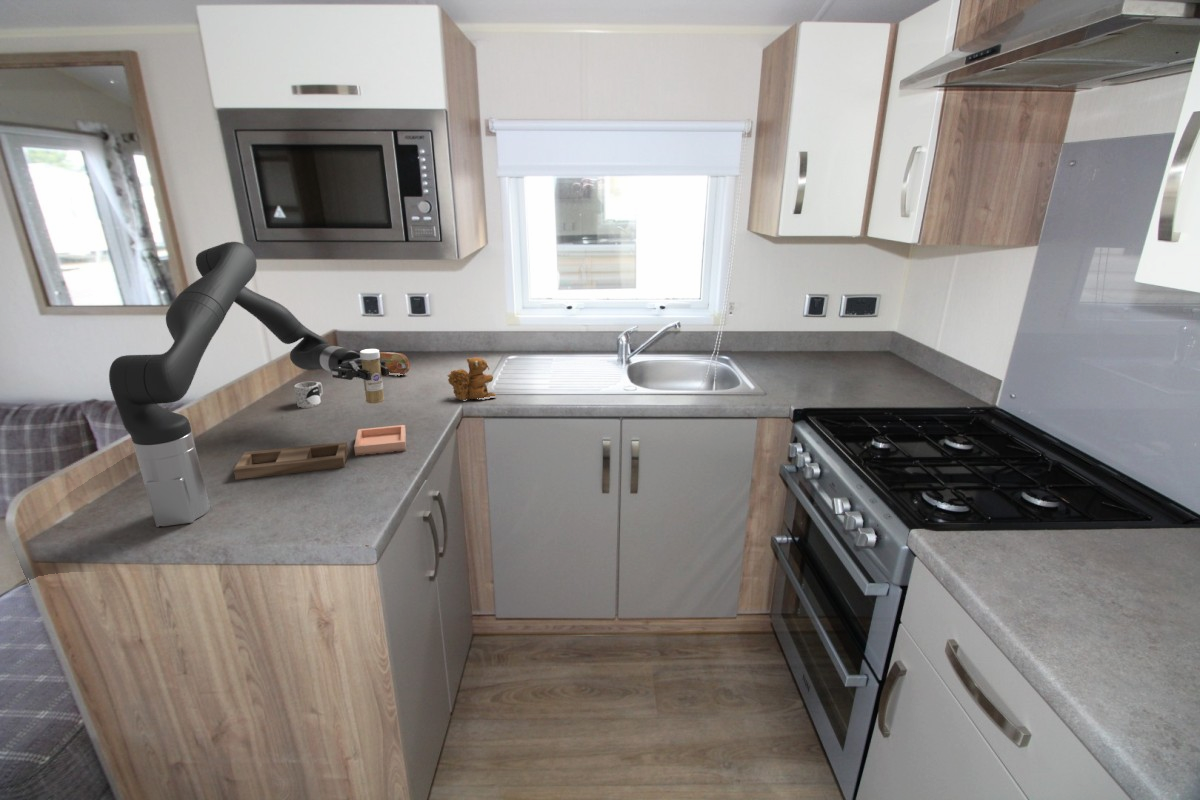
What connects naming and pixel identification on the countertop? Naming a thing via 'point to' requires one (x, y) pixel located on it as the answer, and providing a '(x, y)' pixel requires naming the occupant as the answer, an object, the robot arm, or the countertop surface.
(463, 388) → the stuffed squirrel
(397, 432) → the terracotta tray
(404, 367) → the tin
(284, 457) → the walnut rack
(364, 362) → the sprinkles bottle
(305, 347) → the robot arm
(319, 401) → the mug
